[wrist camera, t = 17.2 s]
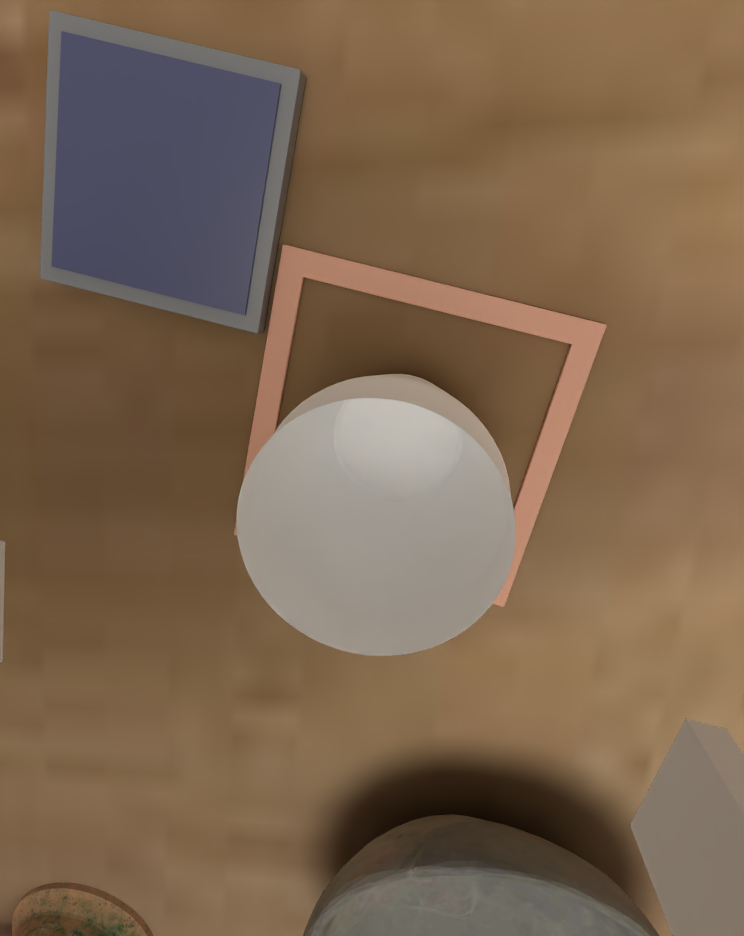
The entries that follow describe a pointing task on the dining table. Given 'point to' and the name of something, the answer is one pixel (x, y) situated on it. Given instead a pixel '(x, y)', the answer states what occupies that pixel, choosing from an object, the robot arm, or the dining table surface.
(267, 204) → the ink pad
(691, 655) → the dining table surface
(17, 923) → the mug
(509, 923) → the bowl
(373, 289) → the mark frame
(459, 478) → the cup
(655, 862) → the robot arm
